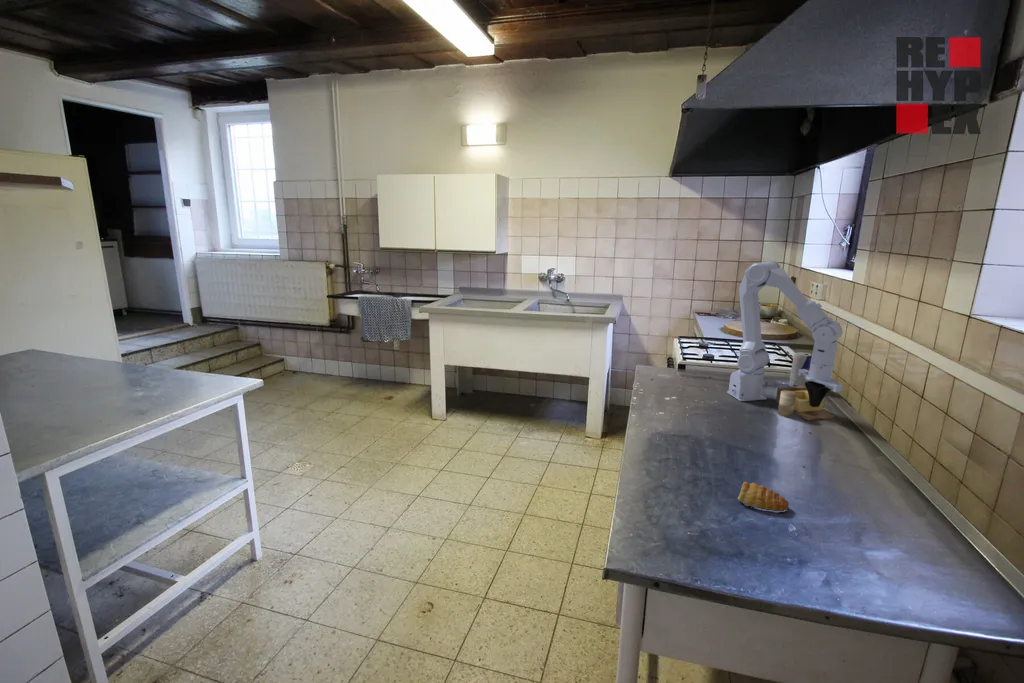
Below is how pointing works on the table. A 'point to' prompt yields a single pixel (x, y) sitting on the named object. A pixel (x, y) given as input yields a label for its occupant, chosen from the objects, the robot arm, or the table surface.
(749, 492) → the pastry
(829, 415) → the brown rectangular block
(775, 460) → the table surface
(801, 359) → the energy drink
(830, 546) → the table surface
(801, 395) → the socket block
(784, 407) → the birch dowel
